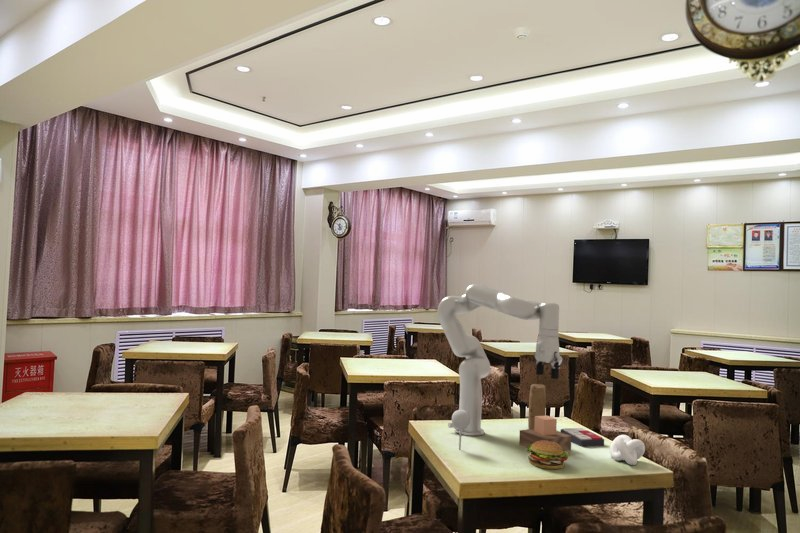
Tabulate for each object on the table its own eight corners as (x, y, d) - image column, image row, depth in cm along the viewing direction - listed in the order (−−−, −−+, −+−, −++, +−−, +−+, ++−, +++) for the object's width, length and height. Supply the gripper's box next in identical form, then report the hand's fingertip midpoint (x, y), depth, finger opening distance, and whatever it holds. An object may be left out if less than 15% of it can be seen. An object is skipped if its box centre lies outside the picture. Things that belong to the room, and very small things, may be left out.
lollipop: (458, 446, 200) (460, 406, 201) (473, 450, 195) (474, 410, 196) (446, 449, 195) (448, 409, 196) (461, 453, 190) (462, 412, 191)
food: (576, 469, 179) (577, 446, 179) (540, 471, 175) (541, 447, 175) (553, 457, 192) (554, 435, 192) (520, 459, 188) (520, 436, 188)
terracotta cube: (543, 435, 201) (544, 419, 201) (534, 431, 207) (534, 416, 207) (556, 434, 203) (556, 419, 204) (546, 430, 209) (547, 415, 209)
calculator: (582, 438, 208) (560, 427, 223) (581, 449, 208) (559, 437, 222) (604, 437, 211) (581, 426, 226) (604, 448, 211) (581, 436, 226)
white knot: (600, 458, 193) (601, 434, 194) (622, 455, 199) (622, 431, 200) (627, 468, 184) (627, 442, 184) (648, 464, 189) (649, 439, 190)
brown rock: (545, 433, 227) (546, 387, 229) (527, 431, 229) (529, 385, 231) (544, 427, 238) (546, 383, 239) (528, 425, 240) (529, 382, 241)
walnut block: (546, 455, 195) (546, 439, 195) (519, 445, 207) (519, 430, 207) (570, 451, 202) (571, 435, 203) (543, 441, 214) (543, 427, 214)
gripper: (528, 331, 214) (526, 373, 213) (554, 335, 198) (552, 380, 197) (543, 332, 217) (542, 373, 216) (570, 335, 200) (568, 380, 199)
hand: (547, 376), depth 206 cm, fingers open, 9 cm apart
